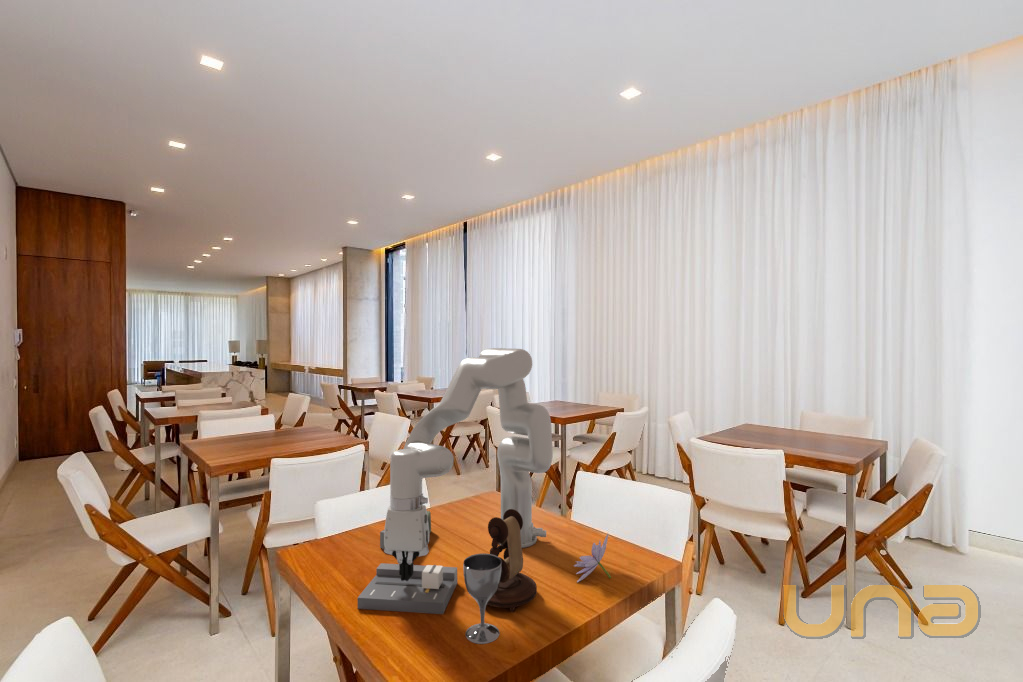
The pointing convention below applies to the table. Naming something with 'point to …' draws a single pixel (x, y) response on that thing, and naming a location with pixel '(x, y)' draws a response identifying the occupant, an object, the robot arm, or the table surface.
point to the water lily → (592, 560)
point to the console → (407, 591)
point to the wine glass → (482, 592)
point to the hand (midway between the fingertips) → (406, 577)
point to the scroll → (510, 562)
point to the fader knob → (432, 577)
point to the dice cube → (382, 539)
